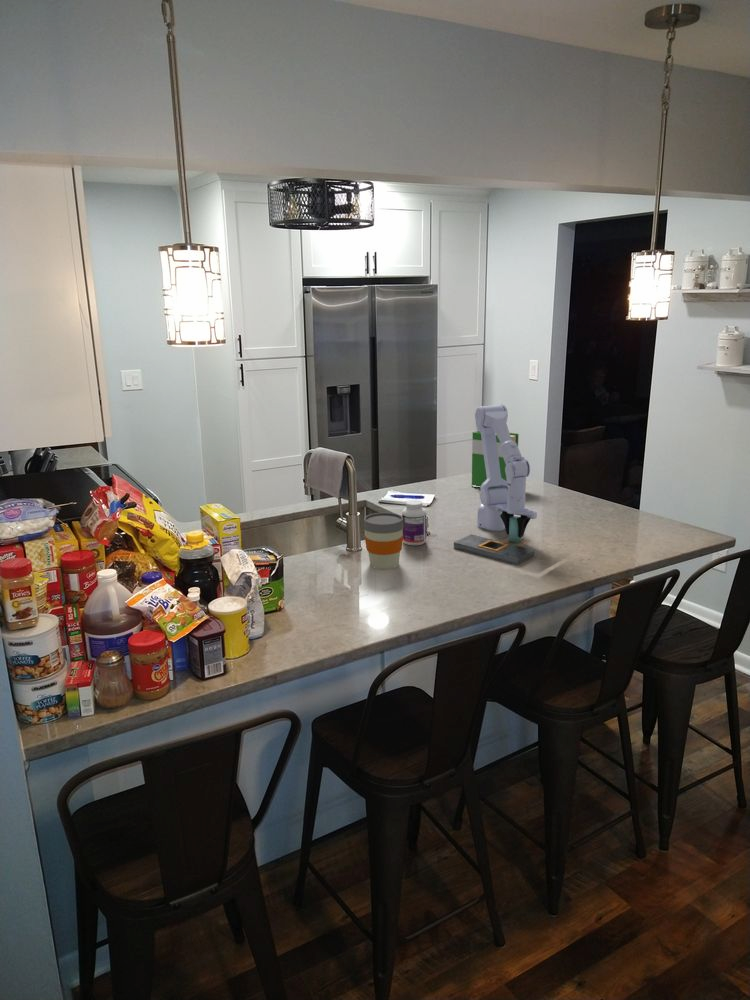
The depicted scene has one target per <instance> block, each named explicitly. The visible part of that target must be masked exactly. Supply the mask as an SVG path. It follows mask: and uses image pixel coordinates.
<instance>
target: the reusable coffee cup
mask: <svg viewBox="0 0 750 1000" xmlns="http://www.w3.org/2000/svg"><path fill="white" fill-rule="evenodd" d="M403 528H404V522H403V517H402V515H400V514H398V513H395V512H393V513H392V512H377V513H376V512H374V513H371V514H367V515H365V516H364V518H363V530H364V532H365V533H364V540H365V548H366V551H367V552H368V557H369V563H370V567H372V568H374V569H378V570H389V569H390V570H391V569H394V568H396V567H398V566H399V565H400V554H401V551H402V549H403V544H404V542H403V534H402V531H403Z"/></svg>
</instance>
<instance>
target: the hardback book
mask: <svg viewBox="0 0 750 1000" xmlns="http://www.w3.org/2000/svg"><path fill="white" fill-rule="evenodd" d="M509 433H510V437H511V440H512V441H514V442H516V444H517V446H518V447H519V433H513V432H509ZM495 435H496V434H495ZM471 440H472V443H471V444H472V448H471V451H472V452H471V453H472V454H471V455H472V456H471V486H472V485H476V486H481V485H482V484H483V483H484V482H485V481H486V480H487V475H486V468H485V460H484V453H483V445H482V438H481V432H479V431H477V430H475V431H473V432H472V438H471ZM496 442H497V450H498V457H499V464H500V472H501V478H502V479H504V480H505V481H507V480H506V473H505V468H506V463H505V461H504V458H503V456H502V453H501V451H500V447H501V445H502V444H501V443H500V441H499V439H498V437H497V435H496ZM489 488H498V486H497V487H489Z"/></svg>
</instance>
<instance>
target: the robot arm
mask: <svg viewBox="0 0 750 1000" xmlns="http://www.w3.org/2000/svg"><path fill="white" fill-rule="evenodd" d="M508 416H509V415H508V408H507V407H506V405H504V404H500V405H499V404H498V405H484V406H483V405H479V406H477V408H476V410H475V413H474V418H475V425H476V427H475V428H476V431H479V432H481V438H482V445H483V453H484V460H485V468H486V475H487V480H486V481H485V482H484V483H483V484H482V485H481V486H480V488H479V489H480V493H479V499H480V503H481V504H480V505H479V507H478V509H477V523H476V525H477V527H478V528H481V529H485V530H488V531H492V532H499V531H504V530H505V533H506V535H508V536H509V518H510V517H512V516H518V518H517V521H518V537H520V538H522V537H524V535H525V532H526V529H527V527H528V524H529V522H530V521H531V520H535V519H537V517H538V512H537V511H533V510H530V509H528V508H526V487H527V477H529V475H530V471H531V467H530V463H529V460H527V458H525V457H524V456H522V454H521V451H520V449H519V445H518V446H517V444H516V442H514V441H512V440H511V437H510V433H511V432H510V430H509V427H508V424H507V423H508V418H509V417H508ZM495 434H496V435H497V437H498V439H499V441H500V443H501V444H502V445H501V447H500V451H501V453H502V456H503V458H504V461H505V463H506V468H505V473H506V480H507V481H505V480H504V479H502V478H501V472H500V464H499V457H498V450H497V442H496V435H495ZM497 486H498V488H489V487H497Z"/></svg>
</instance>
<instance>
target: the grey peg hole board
mask: <svg viewBox="0 0 750 1000" xmlns="http://www.w3.org/2000/svg"><path fill="white" fill-rule="evenodd" d="M500 541H501V540H495V539H492V538H487V537H484V536H481V535H475V534H472V533H471V534H469V535H467V536H464V537H462V538H460V539H458V540H455V541H453V549H457V550H460V551H464V552H468V553H471V554H474V555H479V556H482V557H485V558H490V559H493V560H497V561H501V562H505V563H508V564H512V565H515V566H518V565H521V564H522V563H524V562H526V561H528V560H529V559H532V558H533V557H535V549H532V548H529V547H525V546H524V547H523V546H517V545H512V544H508V543H504V542H500ZM455 551H456V550H455ZM457 552H458V551H456V553H457ZM466 555H469V554H466ZM477 558H480V557H478V556H477ZM503 565H505V566H506V564H503ZM515 566H514V568H516V569H517V567H515Z"/></svg>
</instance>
